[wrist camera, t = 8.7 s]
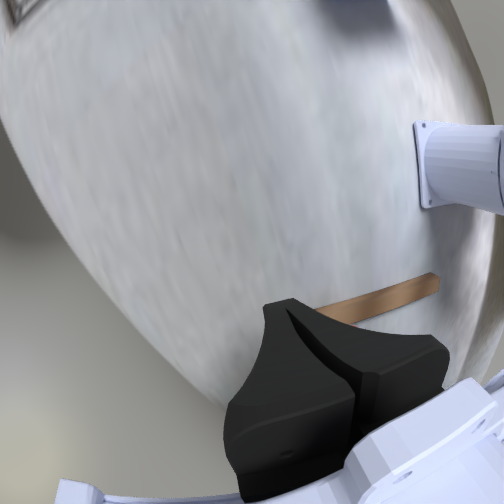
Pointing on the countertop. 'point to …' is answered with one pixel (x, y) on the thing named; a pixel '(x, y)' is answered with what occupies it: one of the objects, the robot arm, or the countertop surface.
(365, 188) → the countertop surface
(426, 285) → the walnut guide channel
